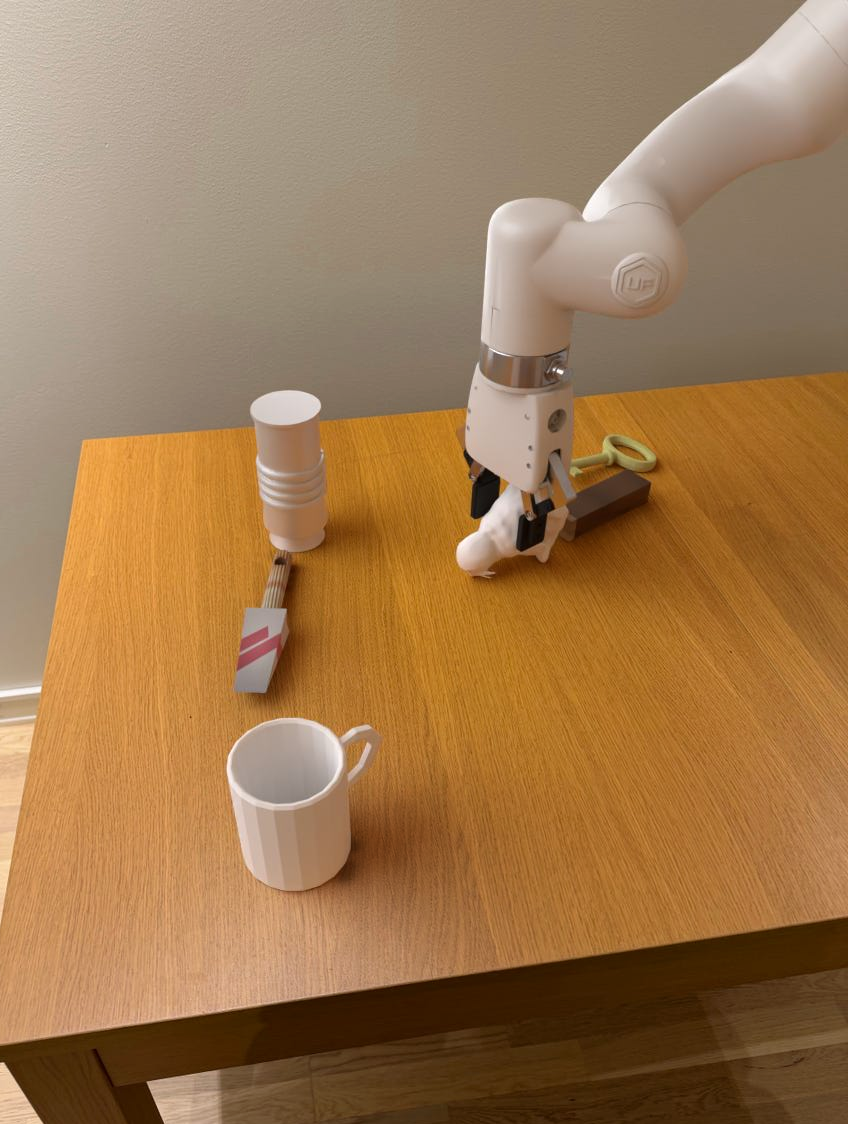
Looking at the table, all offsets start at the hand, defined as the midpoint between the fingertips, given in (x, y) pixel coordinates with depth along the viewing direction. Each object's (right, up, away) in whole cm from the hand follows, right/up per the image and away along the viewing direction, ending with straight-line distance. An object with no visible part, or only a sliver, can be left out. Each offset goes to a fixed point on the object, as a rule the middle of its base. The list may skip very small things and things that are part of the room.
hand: (506, 528), depth 91 cm
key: (+14, +9, +15) cm, 23 cm away
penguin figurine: (0, -3, +3) cm, 4 cm away
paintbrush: (-23, -10, -4) cm, 25 cm away
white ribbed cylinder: (-21, 0, +7) cm, 22 cm away
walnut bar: (+11, +3, +8) cm, 14 cm away
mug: (-17, -26, -21) cm, 38 cm away
